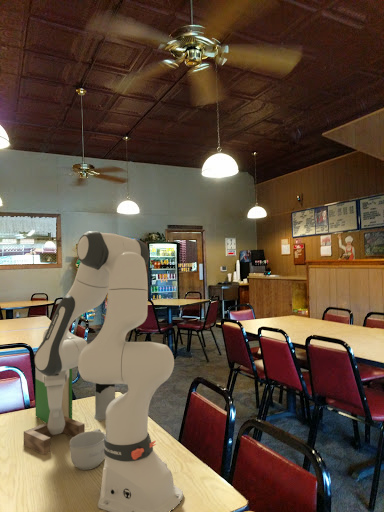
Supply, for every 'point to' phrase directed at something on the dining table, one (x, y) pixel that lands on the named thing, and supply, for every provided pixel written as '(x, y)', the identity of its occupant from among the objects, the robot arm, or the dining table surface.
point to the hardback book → (42, 398)
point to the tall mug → (103, 399)
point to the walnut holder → (49, 435)
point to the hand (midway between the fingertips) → (56, 413)
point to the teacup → (87, 449)
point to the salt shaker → (56, 422)
